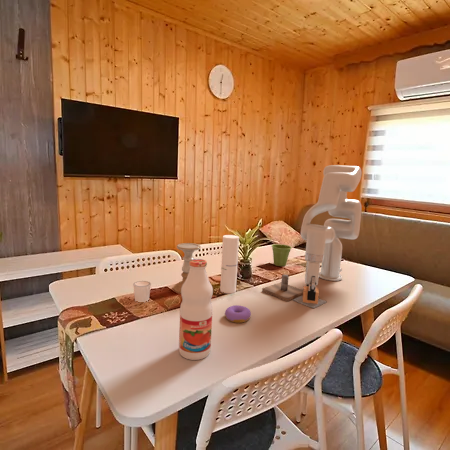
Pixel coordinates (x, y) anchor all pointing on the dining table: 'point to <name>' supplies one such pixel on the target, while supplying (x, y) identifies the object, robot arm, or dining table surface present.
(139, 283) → the shot glass
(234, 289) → the cylindrical container
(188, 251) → the candle holder
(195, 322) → the fruit juice
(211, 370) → the dining table surface
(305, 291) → the orange bevelled cube
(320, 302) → the rubber pad
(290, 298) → the post stand
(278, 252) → the plant pot
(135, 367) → the dining table surface
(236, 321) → the donut
